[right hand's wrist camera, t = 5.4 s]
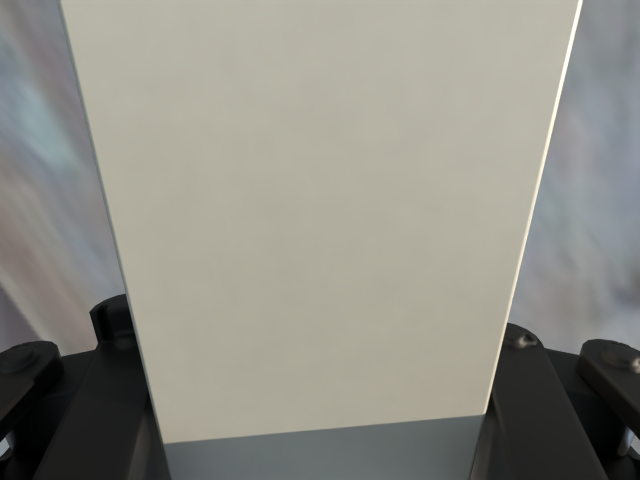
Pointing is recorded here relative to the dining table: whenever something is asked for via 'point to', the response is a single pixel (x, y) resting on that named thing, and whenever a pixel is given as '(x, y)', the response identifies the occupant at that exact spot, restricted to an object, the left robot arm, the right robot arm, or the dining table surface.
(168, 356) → the bar
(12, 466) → the right robot arm
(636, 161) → the dining table surface
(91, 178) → the dining table surface
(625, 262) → the dining table surface
